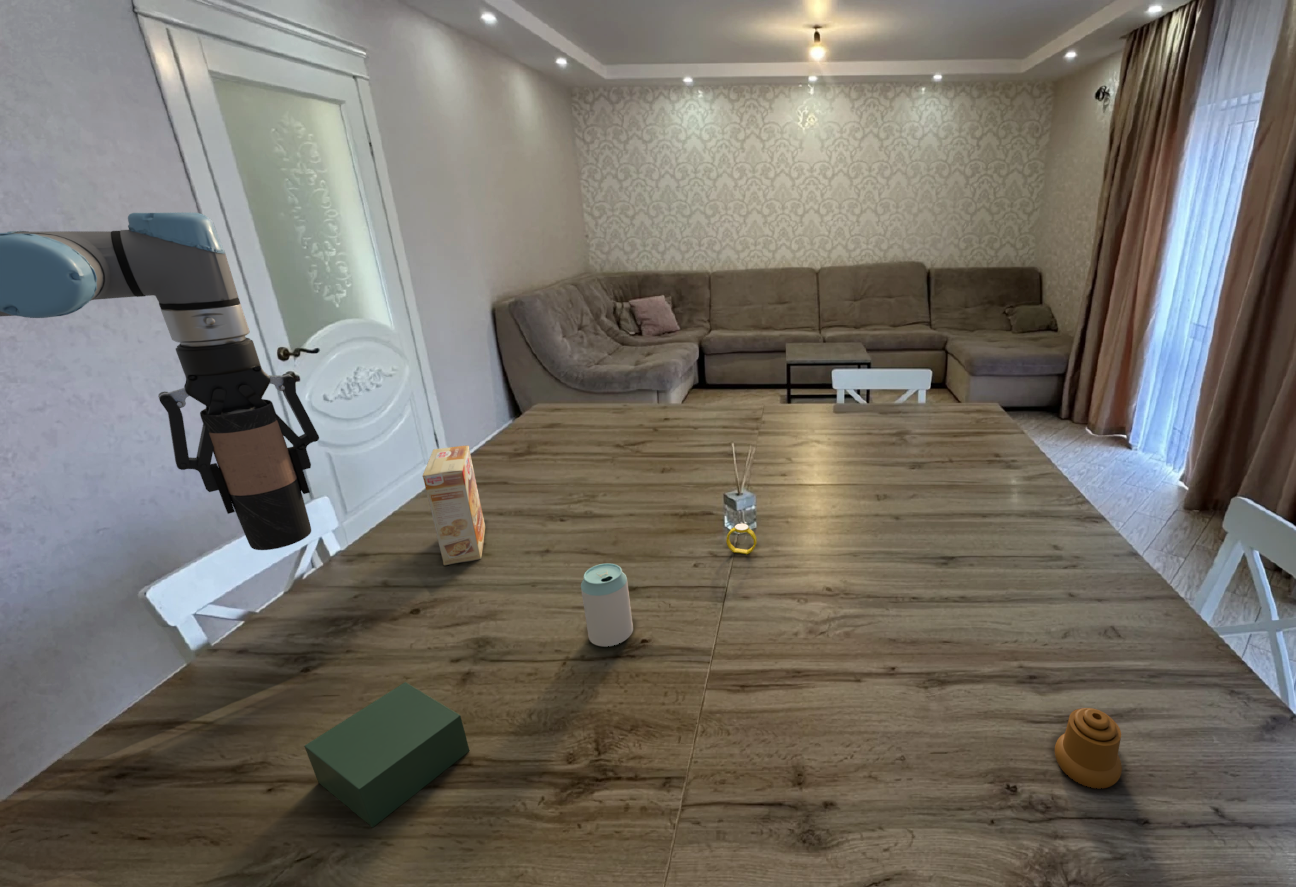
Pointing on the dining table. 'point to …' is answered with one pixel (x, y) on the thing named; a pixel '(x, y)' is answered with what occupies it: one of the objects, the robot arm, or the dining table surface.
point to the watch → (741, 529)
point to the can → (606, 605)
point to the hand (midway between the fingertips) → (268, 499)
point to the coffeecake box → (455, 504)
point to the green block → (387, 752)
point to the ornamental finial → (1090, 749)
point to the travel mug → (259, 476)
